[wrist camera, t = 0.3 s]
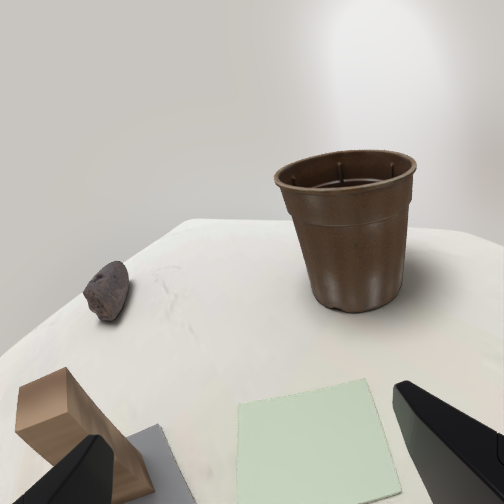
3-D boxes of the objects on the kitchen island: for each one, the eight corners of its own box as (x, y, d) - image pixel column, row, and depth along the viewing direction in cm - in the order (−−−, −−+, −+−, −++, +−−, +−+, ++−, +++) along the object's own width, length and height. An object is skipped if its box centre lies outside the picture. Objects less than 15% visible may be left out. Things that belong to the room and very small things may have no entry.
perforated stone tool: (118, 283, 58) (104, 252, 55) (142, 278, 58) (128, 246, 55) (92, 332, 45) (72, 296, 42) (119, 328, 44) (99, 290, 41)
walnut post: (155, 491, 20) (67, 411, 14) (111, 507, 18) (14, 431, 13) (141, 453, 24) (66, 366, 18) (101, 468, 22) (19, 387, 17)
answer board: (400, 493, 16) (401, 490, 16) (238, 522, 17) (236, 520, 17) (365, 381, 27) (365, 378, 26) (239, 406, 28) (238, 403, 28)
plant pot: (442, 290, 34) (446, 162, 27) (333, 347, 32) (313, 201, 25) (372, 244, 49) (361, 144, 42) (281, 279, 46) (255, 171, 39)
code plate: (198, 507, 19) (195, 504, 18) (98, 540, 15) (94, 538, 15) (160, 426, 27) (157, 423, 27) (80, 459, 24) (76, 456, 23)
